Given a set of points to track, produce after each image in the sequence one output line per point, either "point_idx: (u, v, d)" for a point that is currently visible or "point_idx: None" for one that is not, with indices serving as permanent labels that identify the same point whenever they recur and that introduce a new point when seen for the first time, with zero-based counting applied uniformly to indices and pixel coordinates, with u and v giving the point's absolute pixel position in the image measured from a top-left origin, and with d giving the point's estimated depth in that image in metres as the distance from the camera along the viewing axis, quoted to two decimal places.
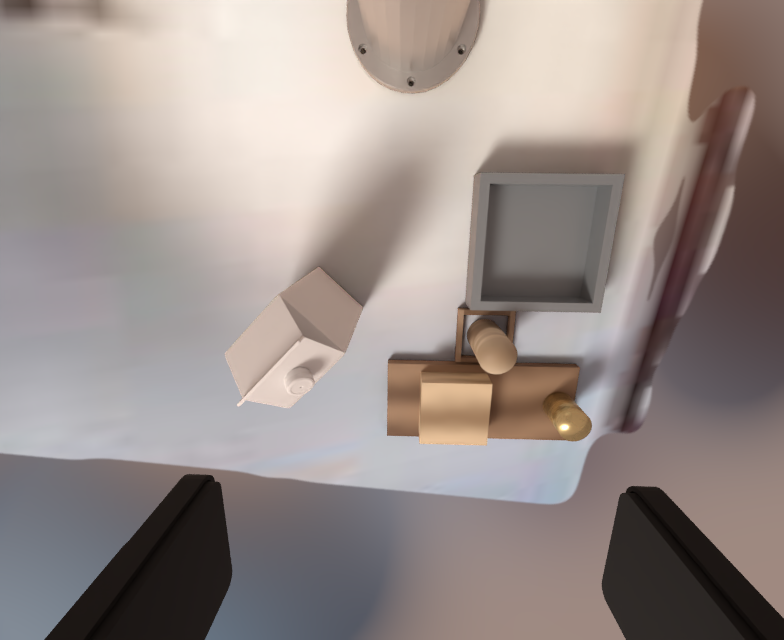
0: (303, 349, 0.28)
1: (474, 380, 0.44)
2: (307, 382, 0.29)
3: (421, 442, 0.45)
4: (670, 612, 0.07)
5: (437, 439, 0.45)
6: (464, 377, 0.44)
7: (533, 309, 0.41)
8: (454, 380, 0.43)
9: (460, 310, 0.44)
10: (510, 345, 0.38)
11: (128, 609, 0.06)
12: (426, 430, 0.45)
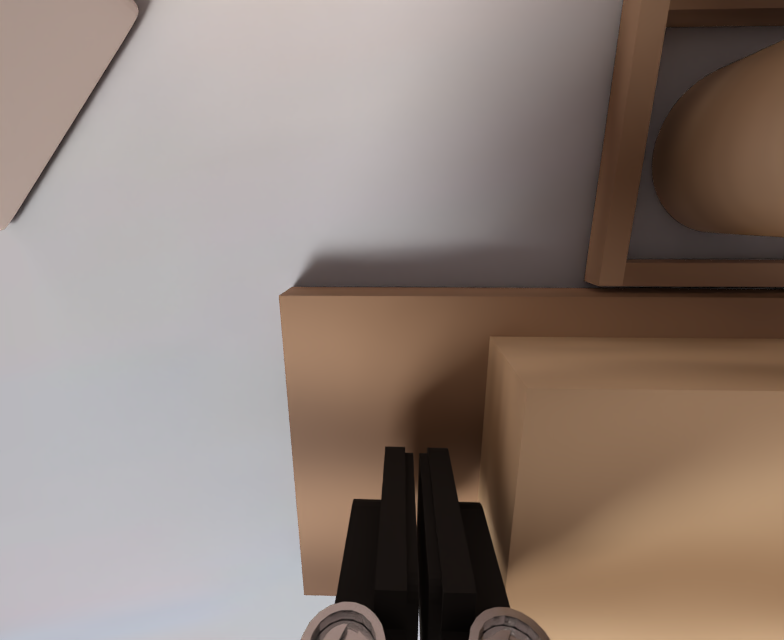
0: None
1: None
2: None
3: None
4: (421, 546, 0.08)
5: None
6: (732, 356, 0.08)
7: None
8: (705, 373, 0.07)
9: None
10: None
11: (415, 548, 0.07)
12: None
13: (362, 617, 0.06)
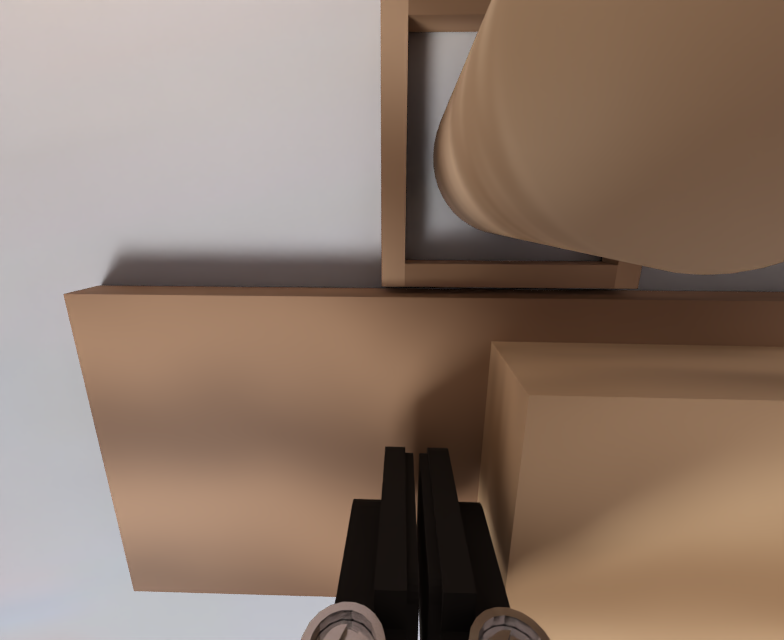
0: None
1: None
2: None
3: None
4: (421, 546, 0.08)
5: None
6: (733, 364, 0.08)
7: None
8: (706, 382, 0.07)
9: None
10: None
11: (415, 548, 0.07)
12: None
13: (362, 617, 0.06)
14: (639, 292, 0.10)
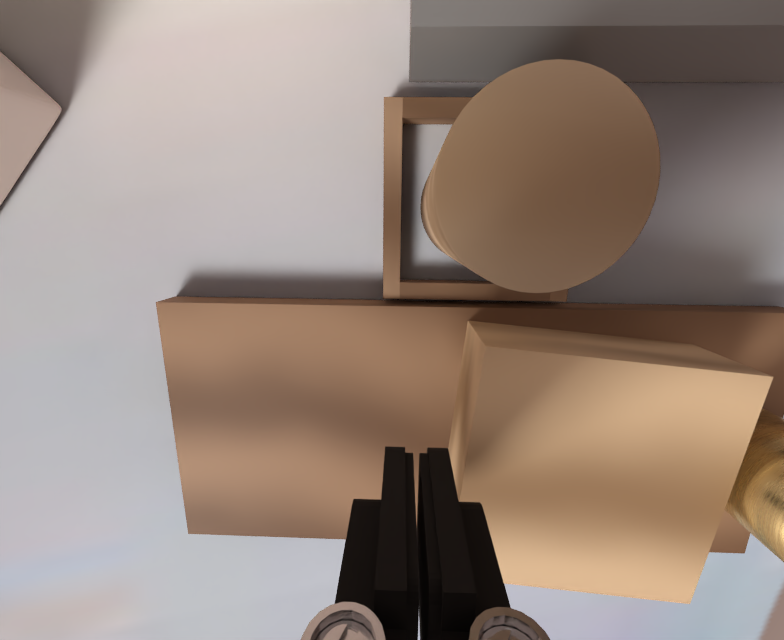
0: None
1: (682, 358, 0.11)
2: None
3: None
4: (421, 545, 0.08)
5: (513, 566, 0.12)
6: (631, 346, 0.12)
7: (696, 15, 0.09)
8: (606, 352, 0.11)
9: (390, 100, 0.12)
10: (625, 112, 0.07)
11: (415, 548, 0.07)
12: None
13: (362, 617, 0.06)
14: (570, 304, 0.14)
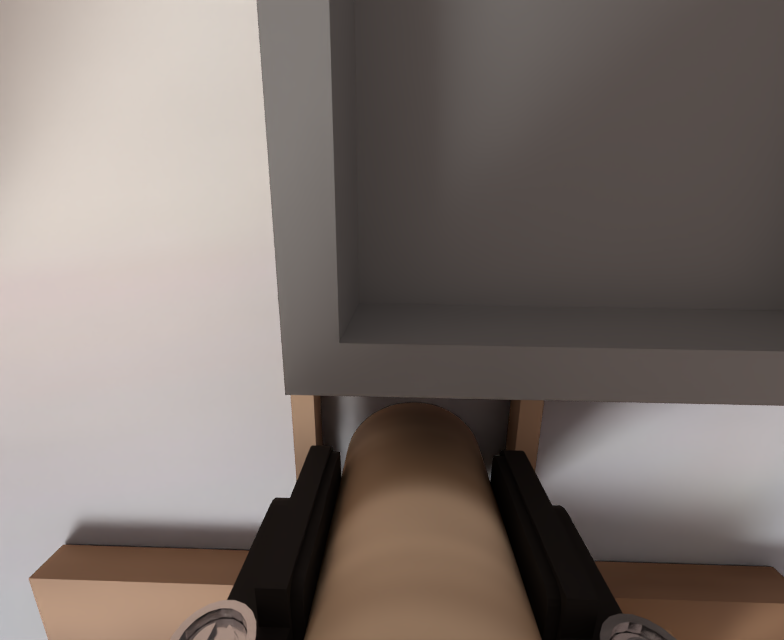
0: None
1: None
2: None
3: None
4: None
5: None
6: None
7: (672, 392, 0.07)
8: None
9: None
10: None
11: (312, 547, 0.07)
12: None
13: (240, 615, 0.06)
14: None
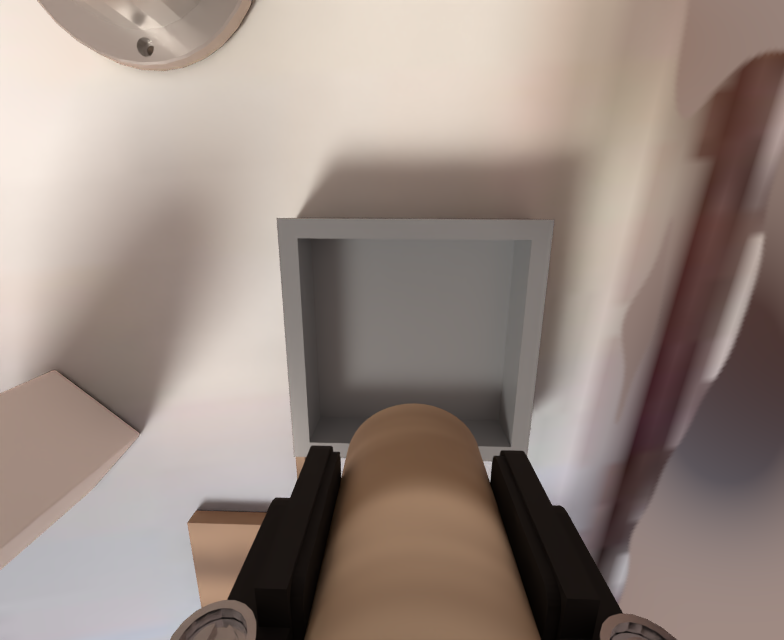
0: None
1: None
2: None
3: None
4: None
5: None
6: None
7: None
8: None
9: None
10: None
11: (312, 546, 0.07)
12: None
13: (240, 615, 0.06)
14: None
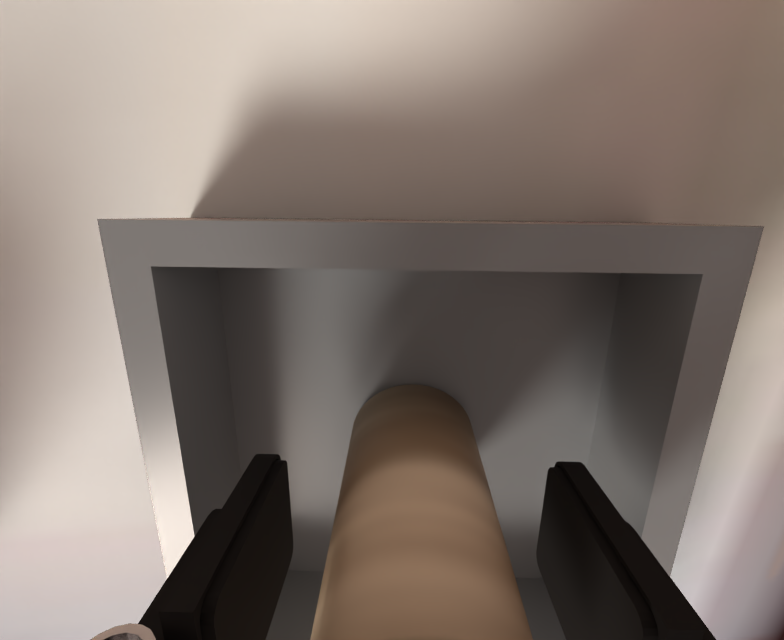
0: None
1: None
2: None
3: None
4: (577, 569, 0.07)
5: None
6: None
7: None
8: None
9: None
10: None
11: (235, 564, 0.06)
12: None
13: None
14: None
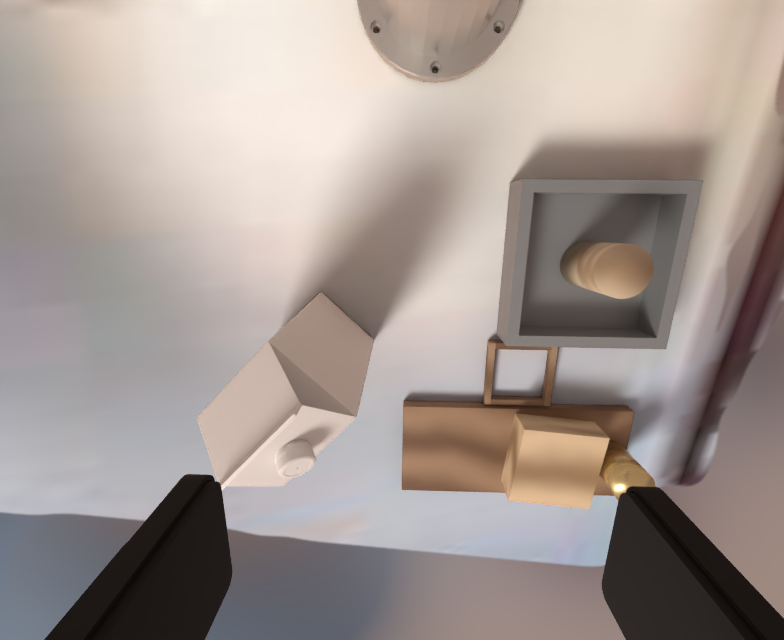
0: (300, 420, 0.20)
1: (585, 430, 0.36)
2: (306, 461, 0.21)
3: (511, 499, 0.37)
4: (670, 612, 0.07)
5: (530, 497, 0.37)
6: (570, 425, 0.37)
7: (584, 345, 0.33)
8: (561, 429, 0.36)
9: (491, 344, 0.36)
10: (646, 257, 0.27)
11: (128, 609, 0.06)
12: (519, 486, 0.37)
13: None
14: (551, 405, 0.39)
